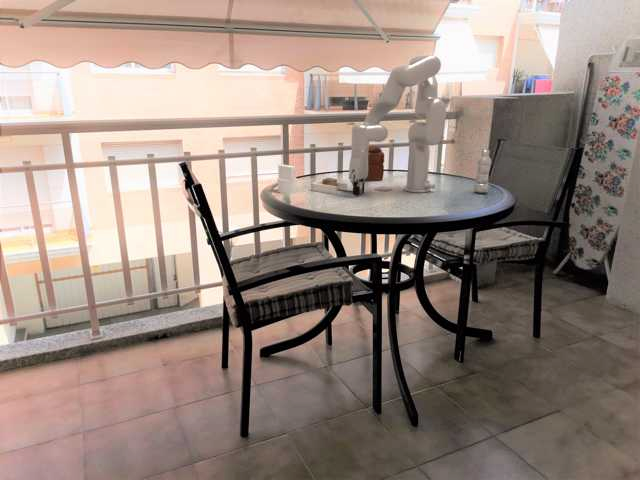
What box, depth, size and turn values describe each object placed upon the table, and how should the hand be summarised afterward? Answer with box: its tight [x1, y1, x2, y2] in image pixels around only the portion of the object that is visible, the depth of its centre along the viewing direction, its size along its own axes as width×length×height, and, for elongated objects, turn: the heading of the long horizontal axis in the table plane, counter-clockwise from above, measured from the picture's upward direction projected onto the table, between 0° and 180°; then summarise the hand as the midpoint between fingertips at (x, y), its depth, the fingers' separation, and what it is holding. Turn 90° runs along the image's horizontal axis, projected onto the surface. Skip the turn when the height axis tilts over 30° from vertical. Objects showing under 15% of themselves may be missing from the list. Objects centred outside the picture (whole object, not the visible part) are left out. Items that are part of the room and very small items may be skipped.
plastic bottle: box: [473, 149, 492, 194], centre depth 219 cm, size 6×7×20 cm
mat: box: [335, 189, 366, 198], centre depth 218 cm, size 8×12×1 cm
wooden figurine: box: [365, 145, 385, 182], centre depth 246 cm, size 12×6×18 cm, turn 101°
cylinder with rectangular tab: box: [277, 164, 298, 195], centre depth 221 cm, size 9×9×12 cm
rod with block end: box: [321, 177, 363, 196], centre depth 219 cm, size 20×5×6 cm, turn 55°
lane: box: [310, 179, 349, 195], centre depth 224 cm, size 14×10×4 cm
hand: (358, 193), depth 216 cm, fingers closed on rod with block end, 3 cm apart
